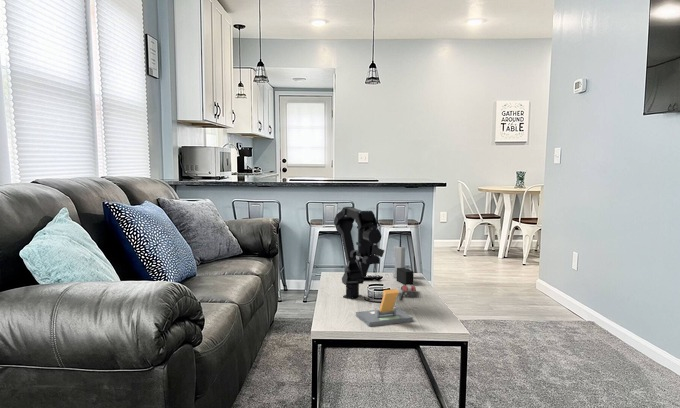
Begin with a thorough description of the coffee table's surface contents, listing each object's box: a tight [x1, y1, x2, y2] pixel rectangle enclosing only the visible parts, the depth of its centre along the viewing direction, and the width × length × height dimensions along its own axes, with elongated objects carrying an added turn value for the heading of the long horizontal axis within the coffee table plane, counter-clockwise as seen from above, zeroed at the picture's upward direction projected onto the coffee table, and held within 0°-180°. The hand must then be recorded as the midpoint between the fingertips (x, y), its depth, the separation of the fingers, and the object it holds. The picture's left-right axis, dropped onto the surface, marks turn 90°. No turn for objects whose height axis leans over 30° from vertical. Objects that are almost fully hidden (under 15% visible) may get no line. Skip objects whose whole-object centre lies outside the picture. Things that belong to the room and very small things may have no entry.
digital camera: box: [396, 267, 414, 286], centre depth 229 cm, size 10×5×7 cm, turn 20°
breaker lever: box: [379, 288, 399, 315], centre depth 168 cm, size 2×6×11 cm, turn 110°
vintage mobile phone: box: [392, 231, 406, 279], centre depth 239 cm, size 4×5×25 cm
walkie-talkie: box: [397, 284, 418, 301], centre depth 204 cm, size 9×4×20 cm
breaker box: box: [355, 306, 414, 327], centre depth 172 cm, size 13×18×4 cm
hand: (364, 276), depth 189 cm, fingers closed
